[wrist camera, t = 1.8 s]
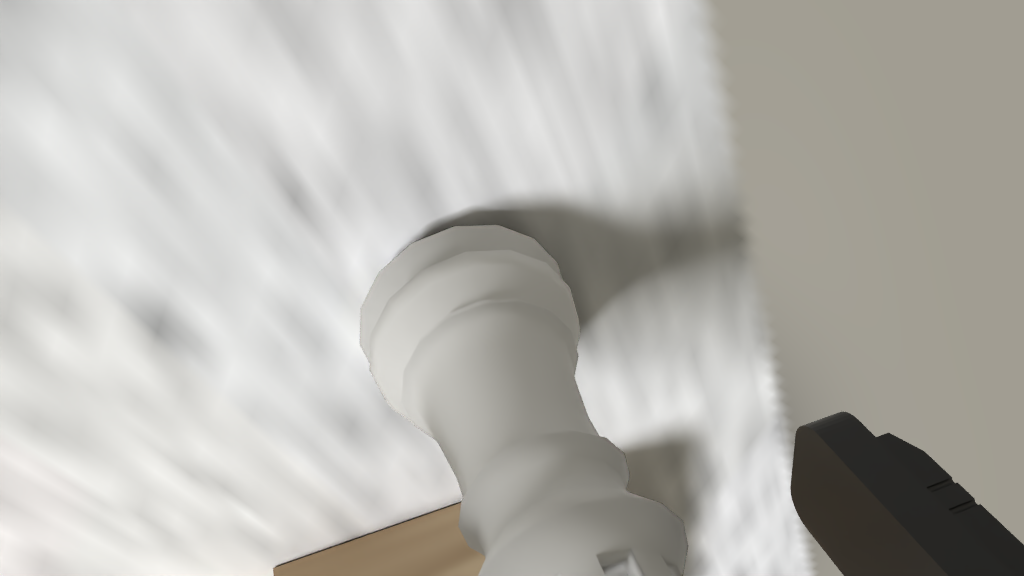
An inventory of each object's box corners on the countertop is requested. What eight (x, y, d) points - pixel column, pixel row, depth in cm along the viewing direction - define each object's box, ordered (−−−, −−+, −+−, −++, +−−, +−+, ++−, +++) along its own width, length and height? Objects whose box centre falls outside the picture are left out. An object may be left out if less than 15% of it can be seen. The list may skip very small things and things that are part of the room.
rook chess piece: (597, 273, 17) (820, 570, 10) (474, 413, 18) (608, 757, 12) (443, 172, 14) (611, 478, 8) (311, 341, 16) (367, 727, 9)
